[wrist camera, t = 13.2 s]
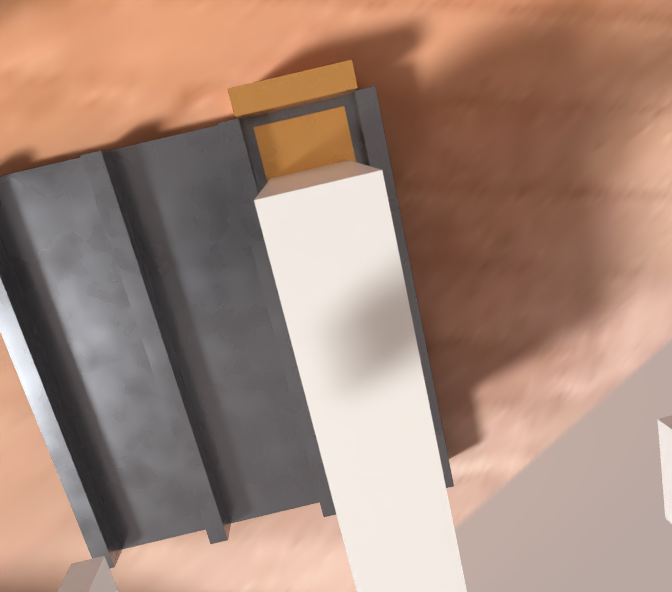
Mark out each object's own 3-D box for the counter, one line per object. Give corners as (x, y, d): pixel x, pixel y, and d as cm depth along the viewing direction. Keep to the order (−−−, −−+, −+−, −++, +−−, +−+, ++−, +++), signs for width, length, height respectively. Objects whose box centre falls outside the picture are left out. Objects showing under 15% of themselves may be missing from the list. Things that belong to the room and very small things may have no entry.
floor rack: (-38, 160, 29) (-90, 163, 25) (363, 66, 29) (374, 54, 25) (111, 541, 35) (88, 591, 31) (443, 462, 35) (461, 501, 31)
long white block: (271, 177, 29) (253, 200, 17) (348, 159, 29) (382, 170, 18) (340, 453, 33) (363, 618, 22) (408, 437, 33) (467, 593, 22)
